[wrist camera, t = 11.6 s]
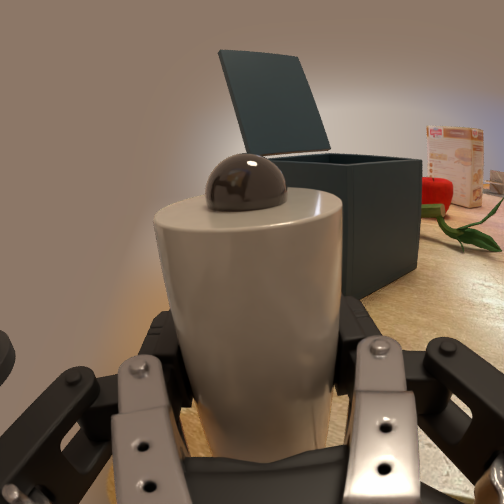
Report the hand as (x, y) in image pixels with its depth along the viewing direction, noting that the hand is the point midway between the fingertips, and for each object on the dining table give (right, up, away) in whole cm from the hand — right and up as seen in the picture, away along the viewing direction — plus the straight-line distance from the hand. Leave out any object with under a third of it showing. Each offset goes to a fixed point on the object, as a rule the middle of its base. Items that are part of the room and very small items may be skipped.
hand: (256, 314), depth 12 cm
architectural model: (+80, +21, +67) cm, 107 cm away
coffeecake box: (+52, +15, +57) cm, 79 cm away
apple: (+38, +10, +46) cm, 61 cm away
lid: (+3, +24, +28) cm, 37 cm away
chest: (+10, +1, +27) cm, 29 cm away
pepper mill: (+1, -7, 0) cm, 7 cm away
